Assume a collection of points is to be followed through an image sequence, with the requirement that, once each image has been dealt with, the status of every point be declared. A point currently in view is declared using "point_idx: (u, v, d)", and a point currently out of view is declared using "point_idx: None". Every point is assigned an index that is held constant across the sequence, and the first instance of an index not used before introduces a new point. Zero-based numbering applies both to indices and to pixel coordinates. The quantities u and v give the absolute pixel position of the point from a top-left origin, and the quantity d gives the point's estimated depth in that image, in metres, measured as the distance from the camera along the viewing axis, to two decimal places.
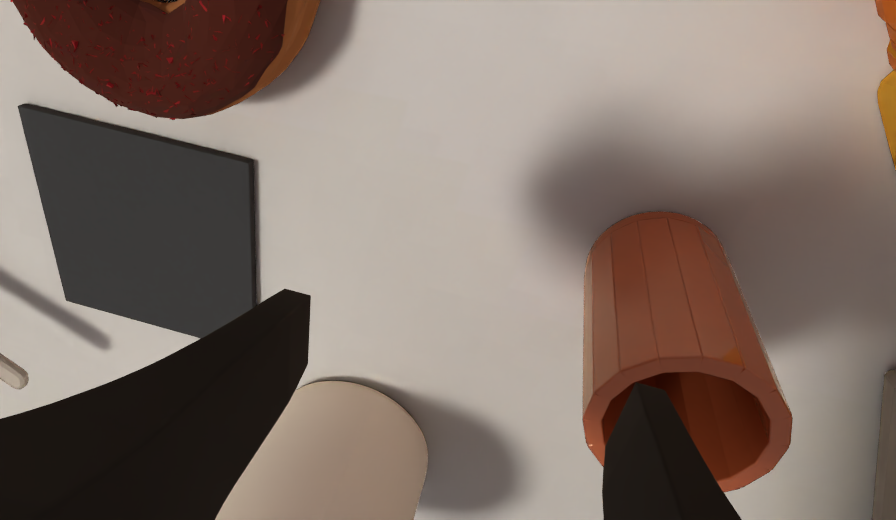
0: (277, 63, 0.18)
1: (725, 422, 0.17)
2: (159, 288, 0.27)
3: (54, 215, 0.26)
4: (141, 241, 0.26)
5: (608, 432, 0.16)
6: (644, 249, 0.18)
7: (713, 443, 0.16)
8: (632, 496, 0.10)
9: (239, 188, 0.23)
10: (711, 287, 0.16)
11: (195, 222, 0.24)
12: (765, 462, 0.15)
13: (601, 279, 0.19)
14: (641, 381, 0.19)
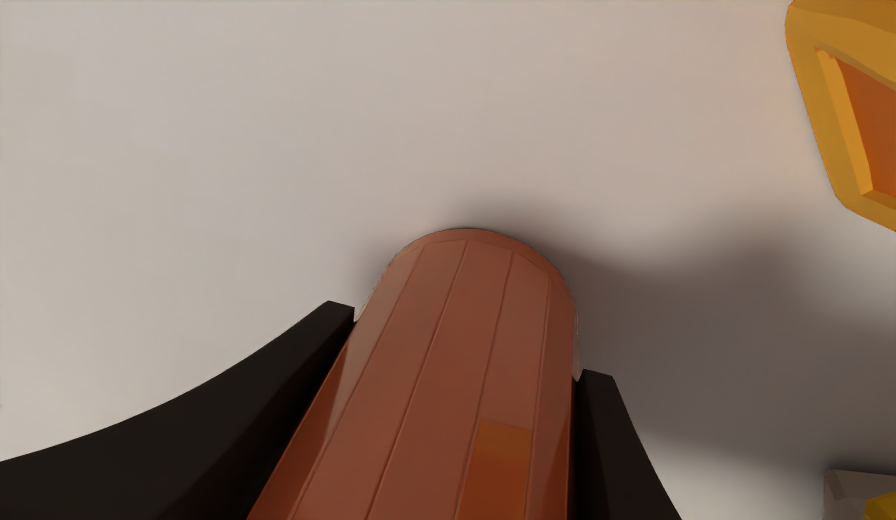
0: None
1: None
2: None
3: None
4: None
5: None
6: (405, 295, 0.11)
7: None
8: None
9: None
10: (473, 374, 0.09)
11: None
12: None
13: (343, 342, 0.11)
14: None
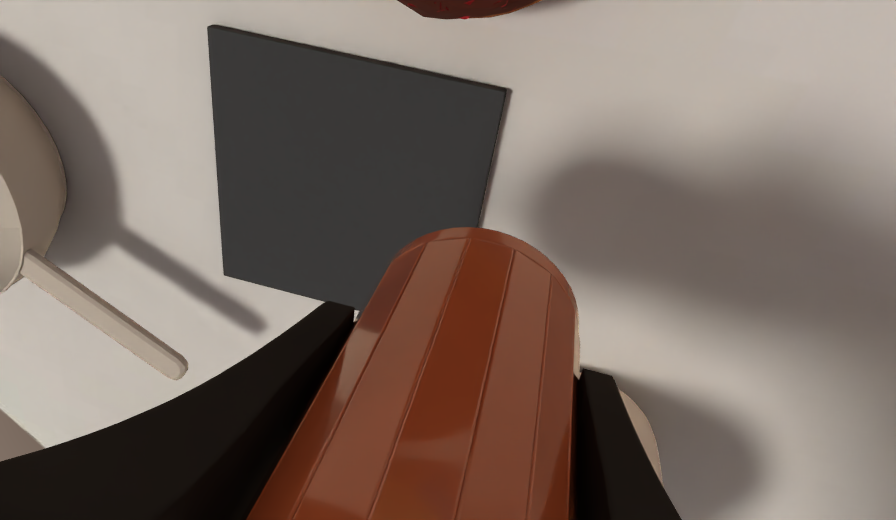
0: None
1: None
2: (348, 257, 0.22)
3: (229, 168, 0.21)
4: (337, 198, 0.21)
5: None
6: (406, 293, 0.11)
7: None
8: None
9: (484, 126, 0.19)
10: (475, 372, 0.09)
11: (415, 172, 0.20)
12: None
13: (344, 341, 0.11)
14: None
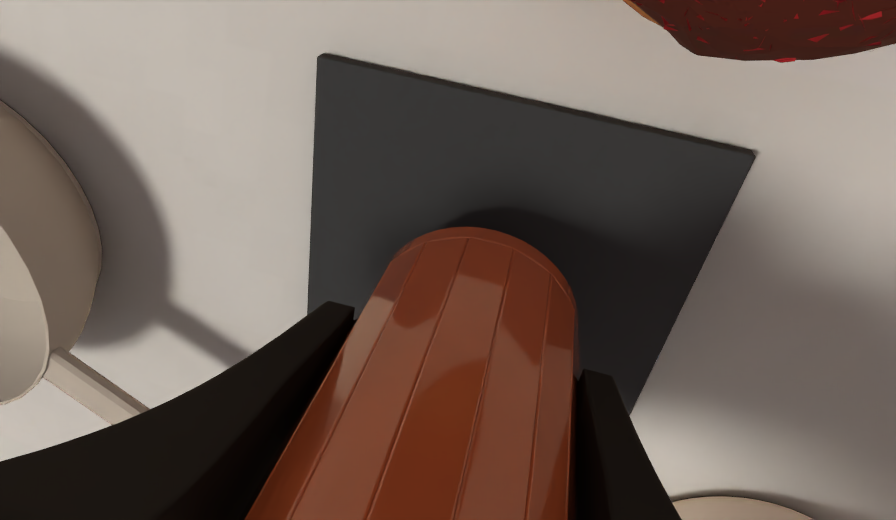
0: None
1: None
2: None
3: (327, 243, 0.16)
4: None
5: None
6: (405, 293, 0.11)
7: None
8: None
9: (713, 201, 0.13)
10: (474, 371, 0.09)
11: (595, 258, 0.14)
12: None
13: (343, 340, 0.11)
14: None
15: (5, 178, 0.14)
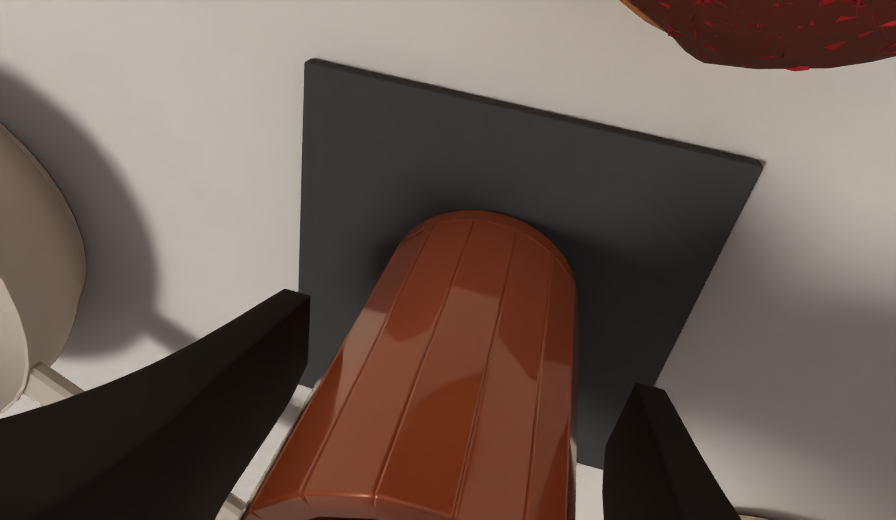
0: None
1: None
2: None
3: (317, 254, 0.15)
4: None
5: None
6: (415, 269, 0.12)
7: None
8: (633, 496, 0.10)
9: (718, 213, 0.12)
10: (481, 338, 0.10)
11: (595, 271, 0.14)
12: None
13: (356, 315, 0.12)
14: None
15: None
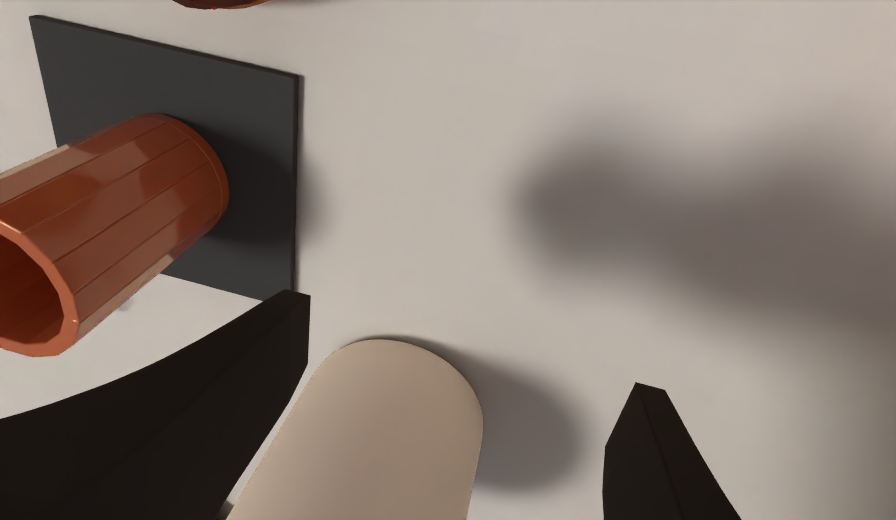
0: None
1: None
2: None
3: None
4: None
5: None
6: (80, 139, 0.19)
7: None
8: (632, 497, 0.10)
9: (282, 109, 0.20)
10: (77, 161, 0.17)
11: (230, 153, 0.21)
12: (68, 313, 0.16)
13: None
14: None
15: None
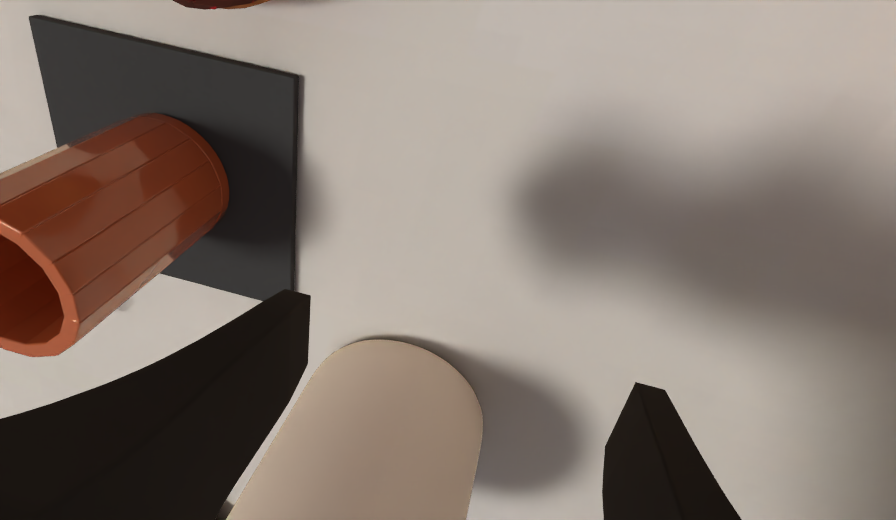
0: None
1: None
2: None
3: None
4: None
5: None
6: (80, 139, 0.19)
7: None
8: (632, 497, 0.10)
9: (282, 109, 0.20)
10: (77, 161, 0.17)
11: (230, 153, 0.21)
12: (68, 313, 0.16)
13: None
14: None
15: None
